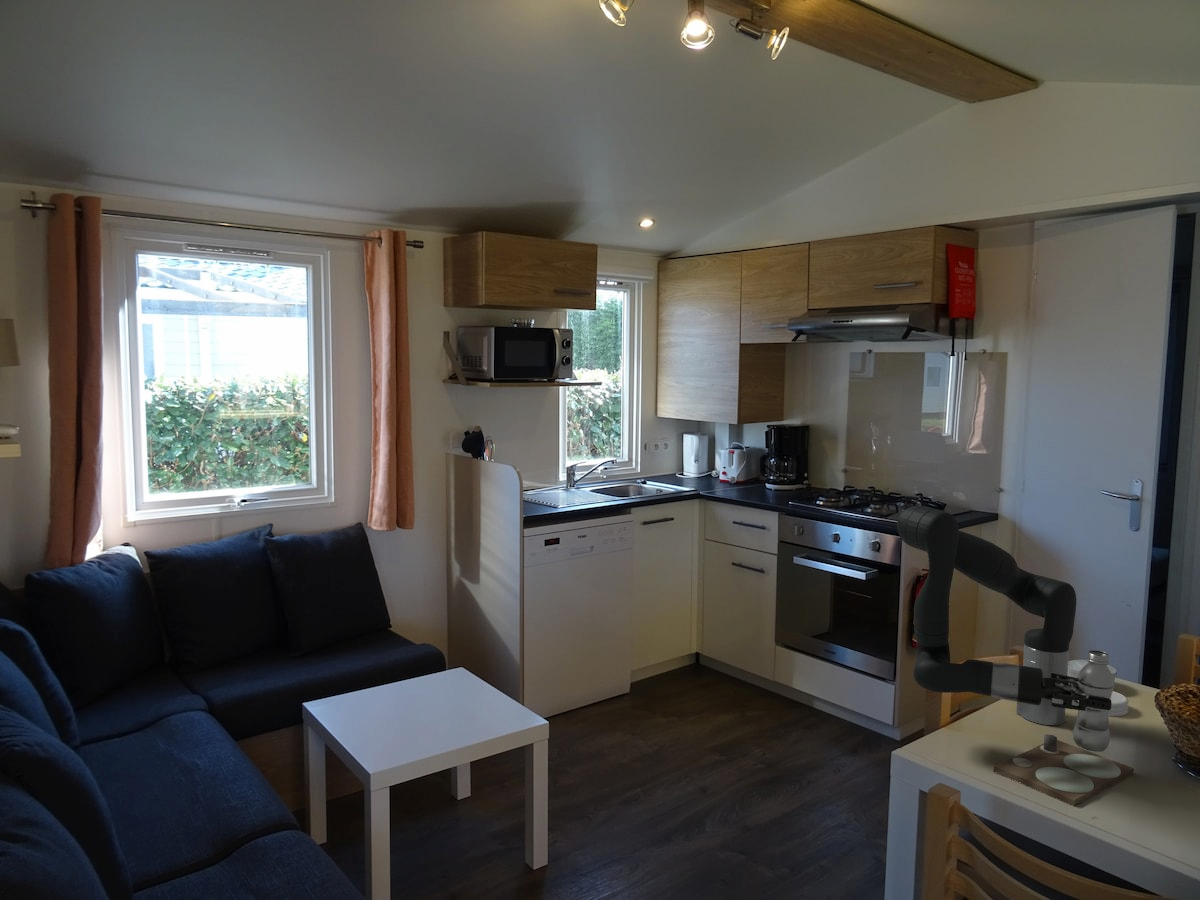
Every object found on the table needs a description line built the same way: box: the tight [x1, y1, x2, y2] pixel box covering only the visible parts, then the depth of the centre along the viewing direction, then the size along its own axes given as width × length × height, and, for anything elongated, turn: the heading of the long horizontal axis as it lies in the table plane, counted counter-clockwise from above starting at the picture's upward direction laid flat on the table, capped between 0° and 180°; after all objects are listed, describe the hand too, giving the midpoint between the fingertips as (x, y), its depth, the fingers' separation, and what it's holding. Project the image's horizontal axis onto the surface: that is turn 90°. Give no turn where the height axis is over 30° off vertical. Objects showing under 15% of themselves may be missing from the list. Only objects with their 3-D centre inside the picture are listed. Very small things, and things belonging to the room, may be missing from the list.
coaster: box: [1108, 690, 1129, 717], centre depth 201 cm, size 10×10×4 cm
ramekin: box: [1067, 659, 1118, 681], centre depth 215 cm, size 11×11×5 cm
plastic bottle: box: [1072, 649, 1116, 752], centre depth 168 cm, size 6×7×20 cm
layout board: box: [993, 734, 1135, 807], centre depth 169 cm, size 16×23×4 cm
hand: (1109, 698), depth 166 cm, fingers closed on plastic bottle, 6 cm apart
